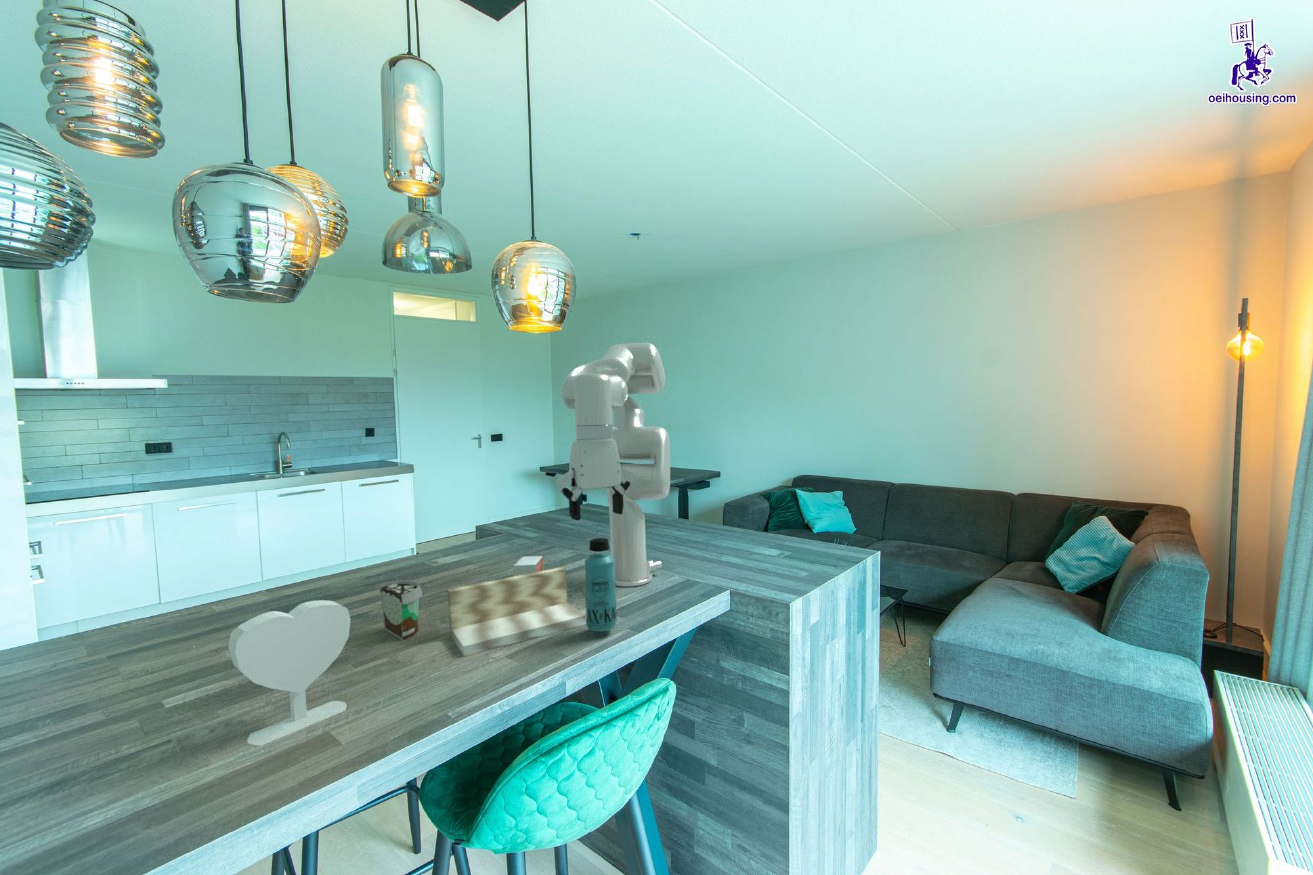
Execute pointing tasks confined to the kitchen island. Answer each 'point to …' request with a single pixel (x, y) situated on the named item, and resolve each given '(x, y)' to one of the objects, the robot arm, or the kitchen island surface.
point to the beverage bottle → (600, 587)
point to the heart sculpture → (291, 658)
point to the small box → (528, 565)
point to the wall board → (510, 610)
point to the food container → (401, 607)
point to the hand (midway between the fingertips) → (597, 516)
